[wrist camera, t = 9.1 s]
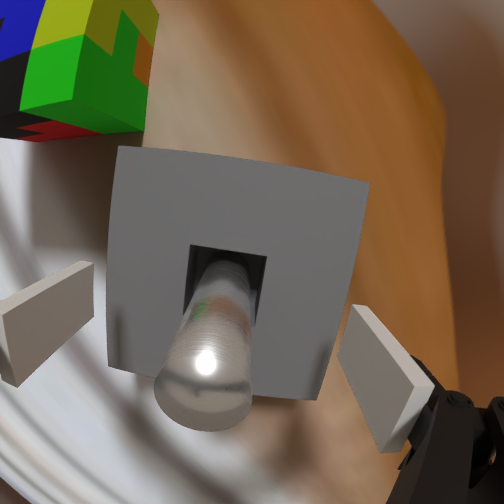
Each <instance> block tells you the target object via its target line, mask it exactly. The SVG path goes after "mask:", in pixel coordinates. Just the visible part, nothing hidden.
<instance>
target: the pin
mask: <svg viewBox="0 0 504 504" xmlns="http://www.w3.org/2000/svg"><path fill="white" fill-rule="evenodd" d="M154 393H155V398H156V400H157V403H158V405H159V406H160V408H161V409H162V410H163V412H164V413H165V414H166V415H167V416H168V417H170V418H171V419H172V420H173V421H175V422H177V423H178V424H180V425H182V426H185V427H187V428H190V429H194V430H198V431H220V430H224V429H228V428H230V427H233V426H235V425H236V424H238V423H239V422H241V421H242V420H243V419H244V418H245V417H246V416H247V414H248V413H249V411H250V409H251V406H252V358H251V315H250V270H249V265H248V263H247V261H246V259H245V258H244V257H243V256H242V255H241V254H239V253H237V252H234V251H229V250H227V251H221V252H219V253H217V254H215V255H214V256H213V257H212V258H211V259H210V261H209V263H208V265H207V267H206V269H205V271H204V273H203V276H202V278H201V280H200V282H199V284H198V286H197V288H196V291H195V293H194V295H193V297H192V299H191V301H190V304H189V306H188V308H187V310H186V312H185V315H184V317H183V319H182V321H181V323H180V326H179V328H178V330H177V332H176V334H175V337H174V339H173V341H172V343H171V346H170V348H169V350H168V352H167V355H166V357H165V359H164V362H163V364H162V366H161V368H160V371H159V373H158V375H157V378H156V380H155V384H154Z"/></svg>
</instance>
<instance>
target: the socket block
mask: <svg viewBox="0 0 504 504" xmlns="http://www.w3.org/2000/svg"><path fill="white" fill-rule="evenodd" d="M369 186H370V183H368V182H364V181H360V180H355V179H351V178H346V177H342V176H337V175H332V174H327V173H322V172H317V171H312V170H307V169H302V168H297V167H291V166H285V165H280V164H274V163H268V162H262V161H255V160H249V159H242V158H235V157H228V156H221V155H213V154H205V153H197V152H188V151H178V150H168V149H158V148H146V147H132V146H118V152H117V159H116V166H115V173H114V181H113V189H112V198H111V208H110V219H109V232H108V248H107V272H106V330H107V354H108V366H109V367H113V368H116V369H120V370H124V371H128V372H132V373H136V374H140V375H144V376H148V377H153V378H157V375H158V373H159V371H160V368H161V366H162V364H163V362H164V359H165V357H166V355H167V352H168V350H169V348H170V346H171V343H172V341H173V339H174V337H175V334H176V332H177V330H178V328H179V326H180V323H181V321H182V319H183V317H184V315H185V312H186V310H187V308H188V306H189V304H190V301H191V299H192V297H193V295H194V293H195V291H196V288H197V286H198V284H199V282H200V280H201V278H202V276H203V273H204V271H205V269H206V267H207V265H208V263H209V261H210V259H211V258H212V257H213V256H214V255H215V254H217V253H219V252H221V251H227V250H229V251H234V252H237V253H239V254H241V255H242V256H243V257H244V258H245V259H246V261H247V263H248V265H249V270H250V315H251V358H252V395H258V396H267V397H277V398H288V399H301V400H317V397H318V394H319V391H320V388H321V385H322V382H323V379H324V376H325V372H326V369H327V366H328V363H329V359H330V356H331V353H332V349H333V346H334V342H335V339H336V335H337V332H338V328H339V325H340V321H341V317H342V313H343V310H344V306H345V302H346V298H347V294H348V290H349V286H350V281H351V277H352V273H353V269H354V264H355V260H356V255H357V250H358V246H359V241H360V236H361V231H362V226H363V221H364V215H365V210H366V204H367V198H368V193H369Z"/></svg>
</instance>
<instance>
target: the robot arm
mask: <svg viewBox="0 0 504 504" xmlns="http://www.w3.org/2000/svg"><path fill="white" fill-rule="evenodd" d="M93 270H94V263H90V262H85V261H81V260H80V261H78V262H76V263H74V264H72V265H70V266H68V267H66V268H64V269H62V270H60V271H58V272H56V273H54V274H52V275H50V276H48V277H46V278H44V279H42V280H40V281H38V282H36V283H34V284H32V285H30V286H28V287H27V288H25V289H23V290H21V291H19V292H17V293H15V294H13V295H11V296H10V297H8V298H6V299H4V300H2V301H0V374H1V377H2V380H3V381H5V382H7V383H9V384H11V385H13V386H15V387H17V388H18V387H19V386H20V385H21V384H22V383H23V382H24V381H25V380H26V379H27V378H28V377H29V376H30V375H31V374H32V373H33V372H34V371H35V370H36V369H37V368H38V367H39V366H40V365H41V364H42V363H43V362H45V361H46V360H47V359H48V358H49V357H50V356H51V355H52V354H53V353H54V352H55V351H56V350H57V349H58V348H60V347H61V346H62V345H63V344H64V343H65V342H66V341H67V340H68V339H69V338H70V337H72V336H73V335H74V334H75V333H76V332H77V331H78V330H79V329H80V328H81V327H83V326H84V325H85V324H86V323H87V322H88V321H89V320H90V319H92V318H93V317H94V305H93ZM337 357H338V360H339V362H340V364H341V366H342V368H343V370H344V373H345V375H346V377H347V379H348V381H349V384H350V386H351V388H352V390H353V393H354V395H355V397H356V399H357V401H358V404H359V406H360V408H361V410H362V413H363V415H364V417H365V419H366V422H367V424H368V426H369V429H370V431H371V433H372V436H373V438H374V440H375V442H376V445H377V447H378V449H379V452H380V453H391V452H400V451H401V449H402V447H403V446H404V444H405V442H406V440H407V439H408V440H409V442H410V444H411V445H412V447H411V449H410V450H409V452H408V454H407V455H406V457H405V458H404V460H403V461H402V463H401V464H400V466H399V467H398V470H401V471H400V473H399V476H398V478H397V480H396V483H395V485H394V487H393V489H392V492H391V494H390V496H389V498H388V500H387V502H386V504H504V397H494V398H493V399H492V401H491V402H490V404H489V406H488V408H487V409H485V408H476V407H474V404H473V402H472V400H471V399H470V398H469V397H467V396H466V395H465V394H462V393H460V392H457V391H452V390H450V391H446V390H445V389H444V388H443V387H442V385H441V384H440V383H439V382H438V381H437V379H436V378H435V377H434V376H432V374H431V372H430V371H429V370H427V368H426V367H425V365H424V364H423V363H422V362H421V361H420V360H418V359H417V358H415V357H414V356H412V355H409V354H408V353H407V352H406V350H405V349H404V348H403V347H402V346H401V345H400V343H399V342H398V341H397V340H396V339H395V338H394V336H393V335H392V334H391V333H390V332H389V331H388V330H387V328H386V327H385V326H384V325H383V324H382V323H381V322H380V320H379V319H378V318H377V317H376V316H375V315H374V314H373V312H372V311H371V310H370V309H369V308H368V307H367V306H362V305H354V304H352V306H351V310H350V313H349V317H348V321H347V324H346V328H345V331H344V335H343V338H342V342H341V345H340V349H339V352H338V355H337ZM495 453H496V457H495V460H494V462H493V463H492V460H491V459H492V457H493V456H494V454H495Z"/></svg>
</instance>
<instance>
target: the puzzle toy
mask: <svg viewBox="0 0 504 504" xmlns="http://www.w3.org/2000/svg"><path fill="white" fill-rule="evenodd" d="M158 19H159V13H158V11H157V10H156V8H155V6H154V5H153V3H152V1H151V0H0V138H8V139H16V140H24V141H32V142H43V141H50V140H57V139H64V138H72V137H81V136H90V135H100V134H112V133H125V132H141V131H144V129H145V117H146V106H147V96H148V87H149V78H150V70H151V63H152V55H153V49H154V42H155V36H156V30H157V24H158Z"/></svg>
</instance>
